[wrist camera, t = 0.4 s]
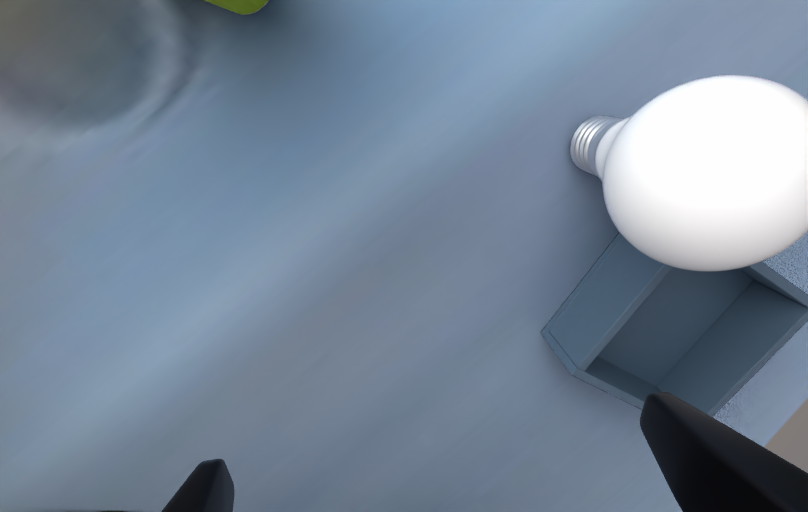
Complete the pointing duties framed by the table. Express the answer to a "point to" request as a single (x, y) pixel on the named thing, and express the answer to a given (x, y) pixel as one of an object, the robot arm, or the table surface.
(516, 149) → the table surface
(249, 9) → the vape
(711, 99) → the lightbulb
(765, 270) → the case
